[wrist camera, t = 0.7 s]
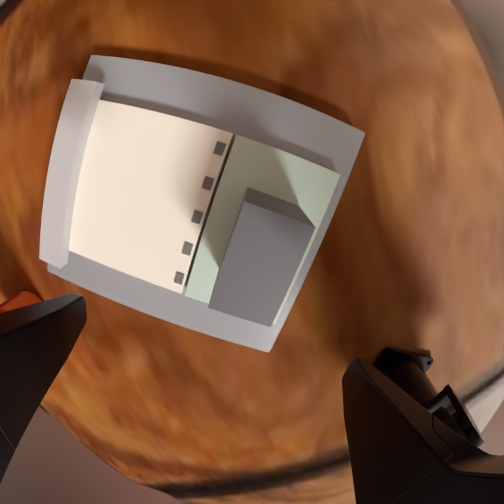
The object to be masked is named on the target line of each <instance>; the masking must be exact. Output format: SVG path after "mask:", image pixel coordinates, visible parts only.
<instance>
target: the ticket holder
mask: <svg viewBox="0 0 504 504" xmlns="http://www.w3.org/2000/svg"><path fill="white" fill-rule="evenodd" d="M236 135H239V136H242V137H245V138H248V139H251V140H254V141H257V142H260V143H263V144H266V145H268V146H271V147H274V148H276V149H279V150H282V151H285V152H287V153H290V154H292V155H295V156H297V157H300V158H303V159H305V160H307V161H310V162H312V163H315V164H317V165H320V166H322V167H324V168H327V169H329V170H331V171H334V172H336V173H338V174H341V175H340V177H339V180H338V182H337V185H336V187H335V190H334V192H333V195H332V197H331V200H330V202H329V204H328V207H327V209H326V212H325V214H324V216H323V219H322V221H321V224H320V226H319V228H318V231H317V233H316V235H315V238H314V240H313V242H312V245H311V247H310V249H309V252H308V254H307V256H306V258H305V261H304V263H303V265H302V267H301V270H300V272H299V274H298V276H297V278H296V281H295V283H294V285H293V287H292V289H291V292H290V294H289V296H288V298H287V300H286V302H285V304H284V307H283V309H282V311H281V313H280V315H279V317H278V319H277V321H276V323H275V324H272V326H271V327H268V326H265V325H261V324H258V323H255V322H251V321H248V320H245V319H241V318H238V317H235V316H232V315H228V314H225V313H222V312H219V311H216V310H213V309H210V308H208V305H209V304H208V303H205V302H202V301H199V300H196V299H193V298H190V297H187V296H184V295H185V292H186V288H187V285H188V281H189V278H190V274H191V271H192V268H193V264H194V261H195V258H196V254H197V251H198V248H199V244H200V241H201V238H202V235H203V232H204V228H205V225H206V222H207V219H208V216H209V213H210V210H211V207H212V204H213V201H214V197H215V194H216V191H217V189H218V186H219V183H220V180H221V177H222V174H223V171H224V168H225V165H226V162H227V160H228V157H229V154H230V151H231V148H232V146H233V143H234V140H235V137H236ZM364 135H365V132H363V131H361V130H359V129H357V128H355V127H352V126H350V125H348V124H346V123H344V122H342V121H340V120H338V119H335V118H333V117H331V116H329V115H326V114H324V113H322V112H319V111H317V110H315V109H312V108H310V107H307V106H305V105H302V104H300V103H297V102H295V101H292V100H289V99H287V98H284V97H281V96H278V95H276V94H273V93H270V92H267V91H264V90H261V89H258V88H255V87H252V86H249V85H246V84H242V83H239V82H236V81H232V80H229V79H225V78H222V77H218V76H214V75H210V74H206V73H202V72H198V71H194V70H189V69H185V68H180V67H175V66H170V65H165V64H160V63H154V62H148V61H142V60H135V59H128V58H120V57H111V56H100V55H91V57H90V60H89V62H88V65H87V67H86V70H85V73H84V75H83V78H82V80H80V79H71V82H70V85H69V88H68V91H67V94H66V98H65V101H64V104H63V108H62V111H61V115H60V118H59V122H58V126H57V130H56V134H55V138H54V143H53V147H52V152H51V157H50V162H49V167H48V173H47V179H46V186H45V193H44V201H43V210H42V221H41V234H40V257H39V259H41V260H43V261H45V262H47V263H48V271H49V272H51V273H53V274H55V275H57V276H59V277H61V278H63V279H65V280H68V281H70V282H72V283H74V284H76V285H78V286H81V287H83V288H85V289H87V290H90V291H92V292H94V293H97V294H99V295H101V296H104V297H106V298H109V299H111V300H113V301H116V302H118V303H121V304H123V305H126V306H128V307H131V308H133V309H136V310H139V311H141V312H144V313H147V314H149V315H152V316H155V317H157V318H160V319H163V320H166V321H168V322H171V323H174V324H177V325H180V326H183V327H186V328H189V329H192V330H195V331H198V332H201V333H204V334H207V335H210V336H213V337H217V338H220V339H223V340H226V341H230V342H233V343H237V344H240V345H244V346H247V347H251V348H254V349H258V350H262V351H265V352H270V350H271V348H272V346H273V344H274V342H275V340H276V338H277V336H278V334H279V332H280V330H281V328H282V326H283V324H284V322H285V320H286V318H287V316H288V314H289V312H290V310H291V307H292V305H293V303H294V301H295V299H296V297H297V295H298V293H299V291H300V289H301V286H302V284H303V282H304V280H305V278H306V276H307V274H308V271H309V269H310V267H311V265H312V263H313V260H314V258H315V256H316V254H317V251H318V249H319V247H320V245H321V242H322V240H323V238H324V235H325V233H326V231H327V229H328V226H329V224H330V221H331V219H332V217H333V214H334V212H335V210H336V207H337V205H338V202H339V200H340V197H341V195H342V193H343V190H344V188H345V185H346V183H347V180H348V178H349V175H350V172H351V170H352V167H353V165H354V162H355V160H356V157H357V154H358V152H359V149H360V146H361V144H362V141H363V138H364Z"/></svg>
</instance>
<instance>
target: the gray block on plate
mask: <svg viewBox="0 0 504 504" xmlns="http://www.w3.org/2000/svg"><path fill="white" fill-rule="evenodd" d="M340 175H341V174H338V173H336V172H334V171H331V170H329V169H327V168H324V167H322V166H320V165H317V164H315V163H312V162H310V161H307V160H305V159H303V158H300V157H297V156H295V155H292V154H290V153H287V152H285V151H282V150H279V149H276V148H274V147H271V146H268V145H266V144H263V143H260V142H257V141H254V140H251V139H248V138H245V137H242V136H239V135H236V137H235V140H234V143H233V146H232V148H231V151H230V154H229V157H228V160H227V162H226V165H225V168H224V171H223V174H222V177H221V180H220V183H219V186H218V189H217V191H216V194H215V197H214V201H213V204H212V207H211V210H210V213H209V216H208V219H207V222H206V225H205V228H204V232H203V235H202V238H201V241H200V244H199V248H198V251H197V254H196V258H195V261H194V264H193V268H192V271H191V274H190V278H189V281H188V285H187V288H186V292H185V295H184V296H187V297H190V298H193V299H196V300H199V301H202V302H205V303H208V304H209V305H208V308H210V309H213V310H216V311H219V312H222V313H225V314H228V315H232V316H235V317H238V318H241V319H245V320H248V321H251V322H255V323H258V324H261V325H265V326H268V327H271V326H272V324H275V323H276V321H277V319H278V317H279V315H280V313H281V311H282V309H283V307H284V304H285V302H286V300H287V298H288V296H289V294H290V292H291V289H292V287H293V285H294V283H295V281H296V278H297V276H298V274H299V272H300V270H301V267H302V265H303V263H304V261H305V258H306V256H307V254H308V252H309V249H310V247H311V245H312V242H313V240H314V238H315V235H316V233H317V231H318V228H319V226H320V224H321V221H322V219H323V216H324V214H325V212H326V209H327V207H328V204H329V202H330V200H331V197H332V195H333V192H334V190H335V187H336V185H337V182H338V180H339V177H340Z"/></svg>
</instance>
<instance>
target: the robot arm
mask: <svg viewBox="0 0 504 504" xmlns="http://www.w3.org/2000/svg"><path fill="white" fill-rule="evenodd" d="M86 319H87V314H86V300H85V297H84V296H82V295H79V294H76V293H72V294H68V295H64V296H61V297H57V298H53V299H49V300H46V301H42V302H38V303H35V304H31V305H27V306H24V307H20V308H16V309H12V310H9V311H5V312H1V313H0V483H1V480H2V478H3V476H4V474H5V471H6V469H7V467H8V465H9V463H10V461H11V458H12V456H13V454H14V452H15V450H16V448H17V446H18V444H19V442H20V440H21V438H22V436H23V434H24V432H25V430H26V428H27V426H28V424H29V423H30V421H31V419H32V417H33V415H34V413H35V412H36V409H37V408H38V406H39V405H40V403H41V401H42V399H43V398H44V396H45V394H46V392H47V391H48V389H49V387H50V386H51V384H52V382H53V381H54V379H55V377H56V376H57V374H58V373H59V371H60V369H61V368H62V366H63V365H64V363H65V362H66V360H67V358H68V356H69V355H70V353H71V351H72V349H73V347H74V345H75V343H76V341H77V339H78V337H79V335H80V333H81V331H82V329H83V327H84V325H85V323H86ZM388 352H389V353H388ZM387 353H388V354H387ZM432 363H433V358H432V357H431V356H427V355H422V354H417V353H412V352H408V351H403V350H399V349H394V348H390V347H387V348H385V349H384V350H383V351H382V352H381V354H380V355H379V357H378V358H377V359H376V361H375V362H374V364H373V365H372V364H370V363H369V362H368V361H367V360H365V359H361V358H354V359H352V361H351V362H350V364H349V366H348V368H347V370H346V372H345V373H344V375H343V378H342V389H343V407H344V420H345V427H346V433H347V440H348V446H349V453H350V460H351V467H352V474H353V482H354V490H355V499H356V504H504V455H503V456H497V455H491V454H488V453H486V452H484V451H482V450H481V449H479V448H478V447H479V446H481V445H482V444H483V443H484V440H483V438H482V436H481V434H480V432H479V430H478V428H477V426H476V424H475V422H474V420H473V418H472V417H471V415H470V413H469V412H468V410H467V409H466V407H465V406H464V404H463V402H462V401H461V400H460V398H459V397H458V396H457V394H456V393H455V392H454V391H453V389H452V388H451V387H450V385H449V384H448V385H447V386H445V387H444V388H443V390H442V391H441V392H440V393H439V394H438V393H437V391H436V390H435V388H434V386H433V385H432V383H431V382H430V380H429V378H428V377H427V375H426V374H425V373H426V371H427V370H428V369H429V367H430V366H431V365H432Z"/></svg>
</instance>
